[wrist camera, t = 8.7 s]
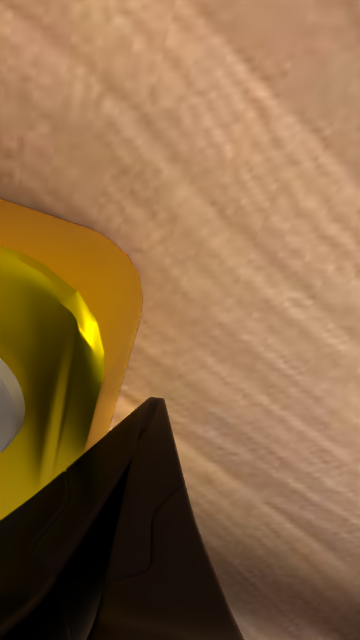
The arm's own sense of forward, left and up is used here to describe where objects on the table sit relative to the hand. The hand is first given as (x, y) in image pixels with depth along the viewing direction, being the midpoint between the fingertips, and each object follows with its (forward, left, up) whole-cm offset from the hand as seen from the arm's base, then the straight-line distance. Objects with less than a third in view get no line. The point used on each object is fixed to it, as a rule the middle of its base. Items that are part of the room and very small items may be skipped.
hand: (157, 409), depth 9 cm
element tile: (+10, +1, -2) cm, 10 cm away
